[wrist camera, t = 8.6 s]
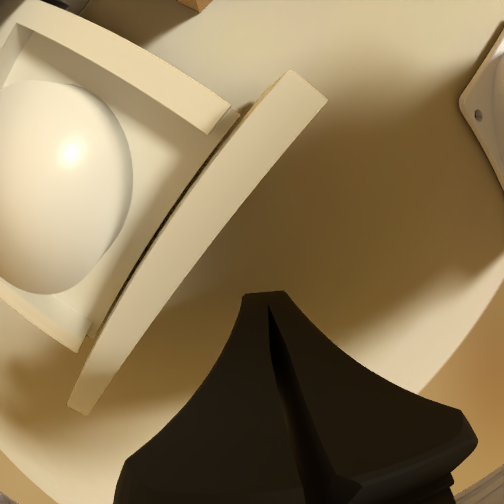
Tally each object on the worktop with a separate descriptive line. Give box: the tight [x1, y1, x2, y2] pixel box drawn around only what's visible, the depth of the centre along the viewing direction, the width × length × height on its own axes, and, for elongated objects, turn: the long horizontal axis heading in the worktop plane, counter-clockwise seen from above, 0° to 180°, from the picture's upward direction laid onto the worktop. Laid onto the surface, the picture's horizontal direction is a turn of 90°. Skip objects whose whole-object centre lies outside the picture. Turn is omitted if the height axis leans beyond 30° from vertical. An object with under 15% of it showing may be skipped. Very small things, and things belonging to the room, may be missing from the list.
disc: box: [0, 80, 133, 295], centre depth 6 cm, size 6×6×2 cm
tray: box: [0, 0, 328, 416], centre depth 6 cm, size 10×11×4 cm
